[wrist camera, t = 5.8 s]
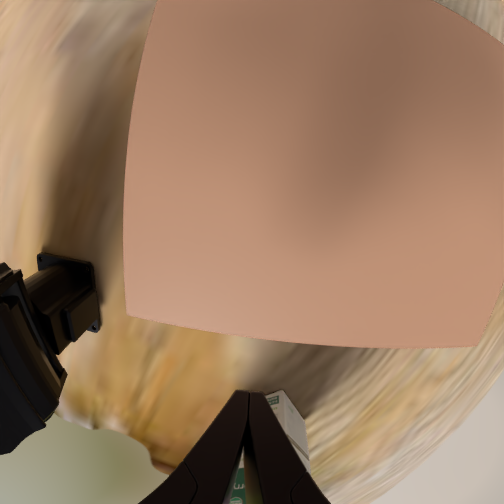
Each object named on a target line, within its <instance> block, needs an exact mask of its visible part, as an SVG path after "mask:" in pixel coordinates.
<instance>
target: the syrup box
mask: <svg viewBox="0 0 504 504" xmlns="http://www.w3.org/2000/svg"><path fill="white" fill-rule="evenodd" d="M265 397H266V399H267V401H268V402H269V404H270V406H271V408H272V410H273V412H274V413H275V415H276V417H277V419H278V421H279V422H280V424H281V426H282V428H283V429H284V431H285V433H286V435H287V436H288V438H289V440H290V442H291V443H292V445H293V447H294V449H295V450H296V452H297V454H298V455H299V457H300V459H301V460H302V462H303V464H304V465H305V467H306V469H307V471H308V472H309V473H310V475H311V469H310V460H309V450H308V442H307V433H306V425H305V421H304V419H303V418H302V417H301V415H300V414H299V412H298V411H297V409H296V408H295V406H294V405H293V404H292V402H291V401H290V399H289V398H288V397H287V395H286V394H285V392H284V391H283V390H279V391H277V392H275V393H273V394H269V395H266V396H265ZM307 471H306V472H307ZM229 504H246V496H245V480H244V463H243V452H242V457H241V461H240V465H239V469H238V473H237V477H236V480H235V484H234V488H233V492H232V495H231V499H230V503H229Z"/></svg>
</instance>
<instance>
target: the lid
mask: <svg viewBox="0 0 504 504" xmlns="http://www.w3.org/2000/svg"><path fill="white" fill-rule="evenodd" d="M123 261H124V283H125V299H126V311H127V315H129V316H133V317H137V318H142V319H146V320H151V321H156V322H161V323H166V324H171V325H176V326H181V327H187V328H192V329H198V330H204V331H210V332H216V333H222V334H229V335H236V336H243V337H250V338H258V339H266V340H274V341H284V342H293V343H304V344H316V345H329V346H345V347H365V348H453V347H472V346H477V345H478V343H479V341H480V339H481V337H482V334H483V332H484V330H485V328H486V326H487V324H488V321H489V319H490V317H491V314H492V312H493V309H494V307H495V304H496V302H497V299H498V297H499V294H500V291H501V288H502V286H503V283H504V45H503V44H502V43H501V42H499V41H498V40H497V39H495V38H494V37H493V36H491V35H490V34H488V33H487V32H485V31H484V30H482V29H481V28H479V27H478V26H476V25H475V24H473V23H472V22H470V21H469V20H467V19H465V18H464V17H462V16H460V15H459V14H457V13H455V12H453V11H452V10H450V9H448V8H446V7H444V6H442V5H440V4H439V3H437V2H435V1H433V0H157V3H156V6H155V9H154V12H153V16H152V19H151V23H150V26H149V30H148V34H147V37H146V41H145V46H144V50H143V54H142V58H141V63H140V68H139V73H138V78H137V83H136V88H135V94H134V100H133V107H132V113H131V121H130V128H129V137H128V146H127V156H126V168H125V183H124V206H123Z"/></svg>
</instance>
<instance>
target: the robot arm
mask: <svg viewBox="0 0 504 504" xmlns="http://www.w3.org/2000/svg"><path fill="white" fill-rule="evenodd" d="M37 264H38V272H37V273H35V274H33V275H32V276H30V277H28V278H27V279H25V280H23V278H22V277H23V274H22V271H21V269H18V270H11V268H9V267H8V265H7V264H6V263H5V262H3V263H0V455H3V454H7V453H11V452H12V451H13V450H14V449H15V448H16V447H17V446H18V445H19V444H20V443H21V441H23V440H24V439H25V438H26V437H28V436H29V435H31V434H32V433H34V432H35V431H38V430H41V429H43V428H45V427H46V424H45V422H46V421H47V420H48V419H49V418H51V416H52V415H53V413H54V412H55V410H56V408H57V407H58V405H59V397H60V394H61V392H62V389H63V386H64V383H65V380H66V378H67V375H68V374H67V372H66V371H65V369H64V368H63V367H62V366H61V364H60V362H59V360H58V358H57V356H56V355H59V354H60V353H61V352H62V351H63V350H64V349H65V348H66V347H67V346H68V345H69V344H70V343H71V342H76V341H77V340H78V338H79V337H80V336H81V335H82V334H83V333H84V332H85V331H86V330H88V331H91V332H94V333H97V332H98V331H99V330H100V321H99V310H98V302H97V294H96V290H95V280H94V269H93V266H92V264H91V263H90V262H86V261H81V260H76V259H71V258H66V257H62V256H57V255H52V254H47V253H43V252H41V253H39V254H38V255H37ZM86 267H87V268H88V270H89V271H88V270H87V268H86ZM94 326H95V327H96V328H95V327H94ZM242 452H243V463H244V480H245V496H246V504H331V503H330V502H329V501H328V499H327V498H326V497H325V496H324V494H323V493H322V492H321V490H320V489H319V487H318V486H317V485H316V483H315V482H314V480H313V478H312V477H311V475H310V473H309V472H308V471H307V469H306V467H305V465H304V464H303V462H302V460H301V459H300V457H299V455H298V454H297V452H296V450H295V449H294V447H293V445H292V443H291V442H290V440H289V438H288V436H287V435H286V433H285V431H284V429H283V428H282V426H281V424H280V422H279V421H278V419H277V417H276V415H275V413H274V412H273V410H272V408H271V406H270V404H269V402H268V401H267V399H266V397H265V395H264V393H263V392H258V391H250V393H249V391H247V390H236V391H235V392H234V393H233V395H232V396H231V397H230V399H229V400H228V401H227V403H226V404H225V406H224V407H223V408H222V410H221V411H220V412H219V414H218V415H217V416H216V418H215V419H214V421H213V422H212V423H211V424H210V426H209V427H208V428H207V430H206V431H205V432H204V434H203V435H202V436H201V438H200V439H199V440H198V441H197V443H196V444H195V445H194V447H193V448H192V449H191V450H190V452H189V453H188V454H187V455H186V457H185V458H184V459H183V461H182V462H181V463H180V464H179V465H178V466H177V468H176V469H175V470H174V471H173V472H172V473H171V474H170V475H169V477H168V478H167V479H166V480H165V481H164V482H163V483H162V484H161V485H160V486H159V487H158V488H156V489H155V490H154V491H153V492H152V493H151V494H149V495H148V496H147V497H146V498H144V499H143V500H142V501H141V502H139V503H138V504H229V503H230V499H231V495H232V492H233V488H234V484H235V480H236V477H237V473H238V469H239V465H240V461H241V457H242ZM306 471H307V472H306Z"/></svg>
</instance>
